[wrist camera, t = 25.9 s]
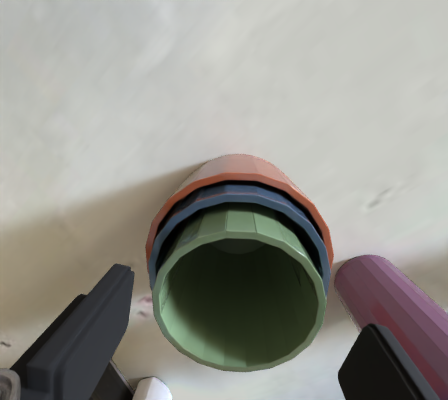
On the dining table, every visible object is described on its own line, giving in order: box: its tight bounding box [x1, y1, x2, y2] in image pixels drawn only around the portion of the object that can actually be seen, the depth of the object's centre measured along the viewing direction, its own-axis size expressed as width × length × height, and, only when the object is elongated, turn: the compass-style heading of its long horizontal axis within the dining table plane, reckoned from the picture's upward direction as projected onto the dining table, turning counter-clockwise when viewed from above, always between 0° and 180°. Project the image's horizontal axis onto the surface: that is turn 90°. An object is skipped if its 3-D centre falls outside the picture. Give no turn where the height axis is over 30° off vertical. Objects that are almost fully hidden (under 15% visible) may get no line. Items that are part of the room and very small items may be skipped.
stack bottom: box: [145, 154, 334, 274], centre depth 17 cm, size 11×11×8 cm
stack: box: [148, 180, 331, 296], centre depth 17 cm, size 9×9×10 cm
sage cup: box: [152, 202, 327, 372], centre depth 16 cm, size 8×8×11 cm
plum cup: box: [334, 255, 448, 400], centre depth 17 cm, size 6×6×12 cm
